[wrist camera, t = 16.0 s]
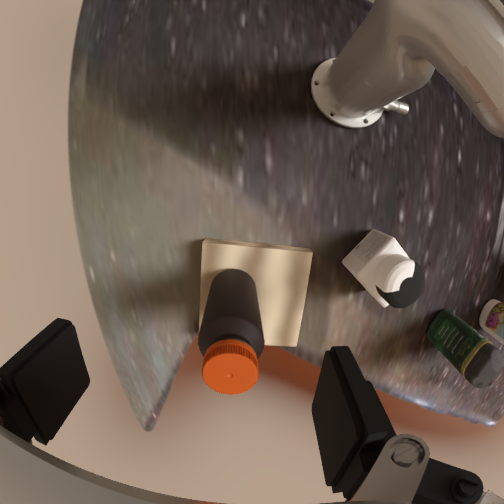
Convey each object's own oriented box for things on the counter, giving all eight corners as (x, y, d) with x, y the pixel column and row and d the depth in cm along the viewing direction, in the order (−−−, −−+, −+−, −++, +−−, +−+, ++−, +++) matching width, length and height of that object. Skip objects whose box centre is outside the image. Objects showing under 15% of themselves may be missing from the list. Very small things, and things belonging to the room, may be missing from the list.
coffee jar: (419, 335, 48) (468, 387, 30) (441, 303, 46) (498, 346, 28) (441, 349, 49) (486, 396, 31) (462, 320, 47) (512, 361, 29)
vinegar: (203, 275, 41) (177, 354, 22) (247, 261, 41) (255, 333, 21) (220, 315, 43) (209, 408, 23) (262, 301, 42) (279, 391, 23)
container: (397, 259, 44) (439, 284, 31) (367, 290, 45) (400, 325, 33) (372, 227, 43) (413, 244, 30) (340, 261, 44) (371, 290, 31)
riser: (308, 248, 43) (312, 252, 40) (293, 337, 47) (296, 346, 44) (205, 238, 43) (202, 242, 40) (201, 329, 47) (199, 338, 44)
